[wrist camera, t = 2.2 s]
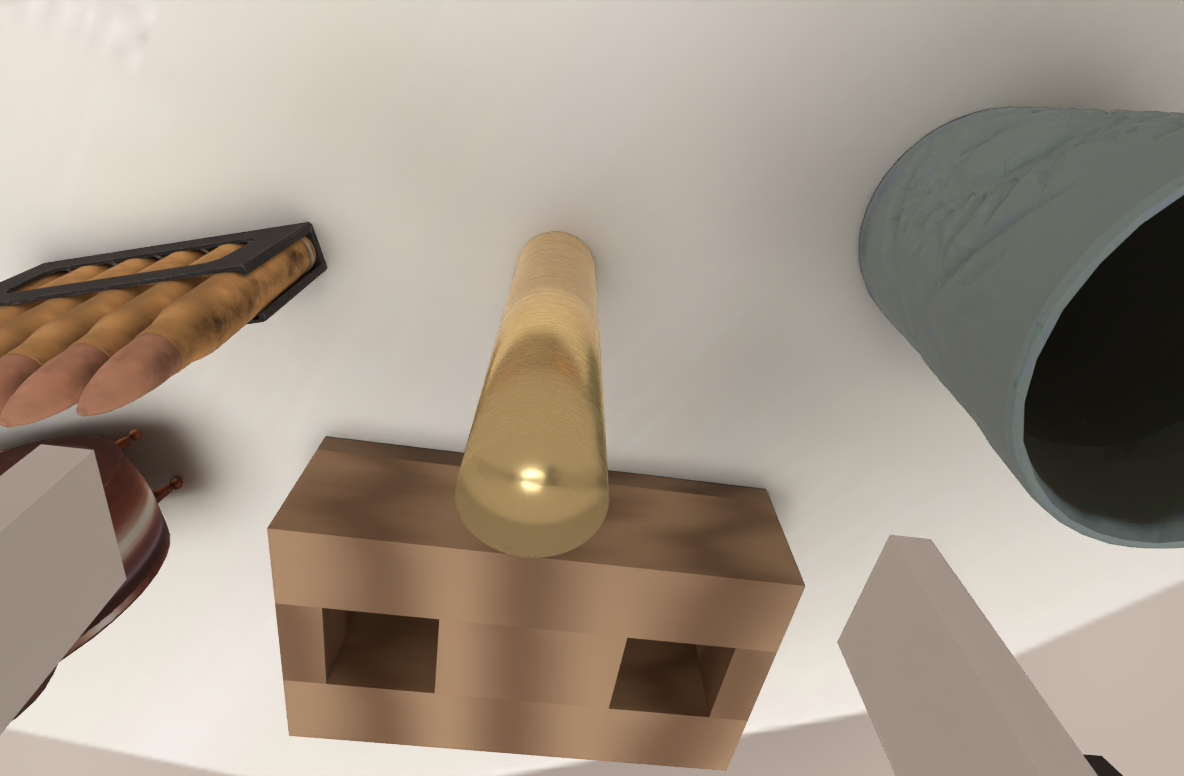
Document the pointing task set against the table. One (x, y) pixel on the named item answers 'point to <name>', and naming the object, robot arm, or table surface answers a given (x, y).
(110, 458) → the alarm clock
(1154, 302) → the grey-green cup
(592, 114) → the table surface
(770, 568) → the walnut hole block
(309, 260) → the ammunition clip
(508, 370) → the brass pin
